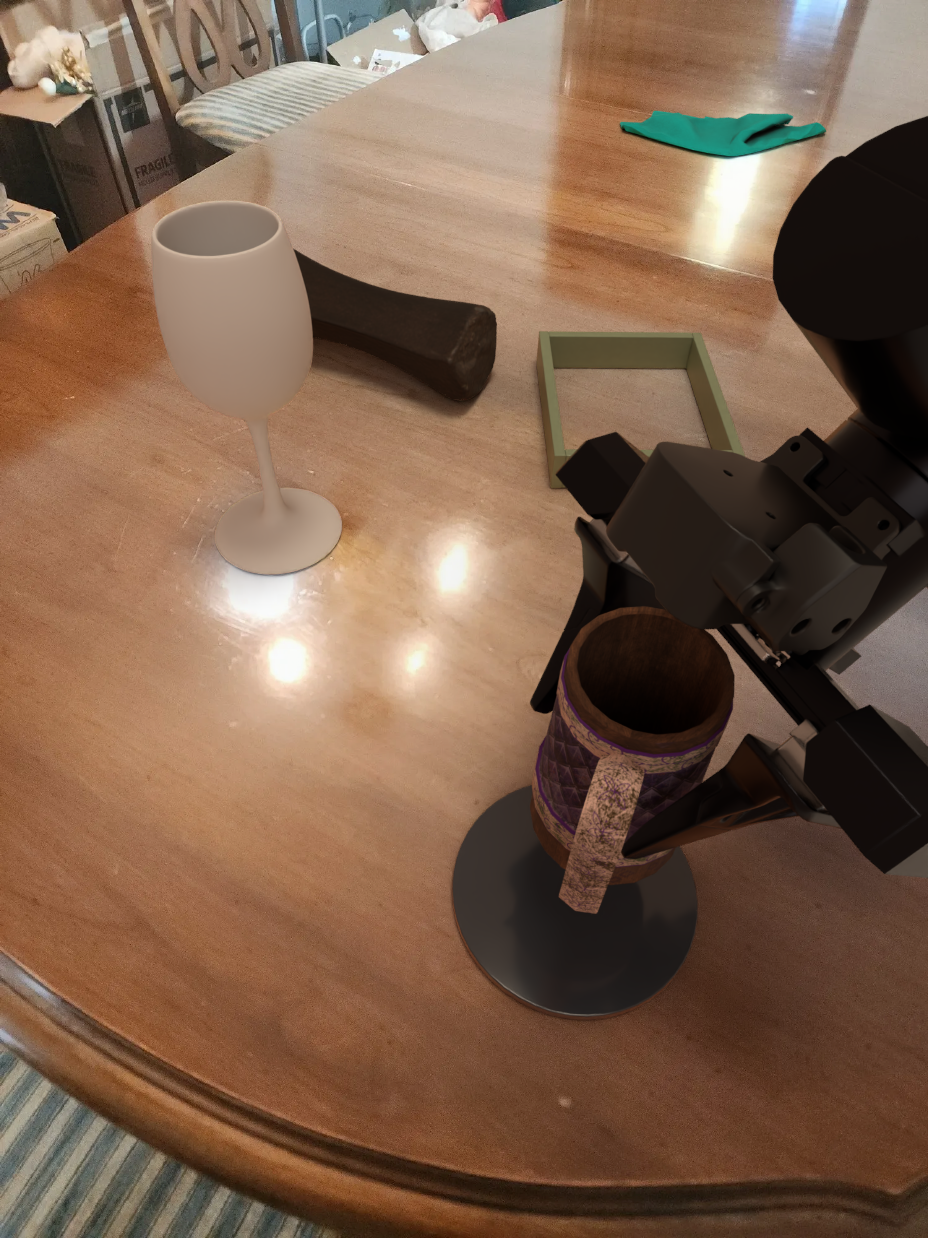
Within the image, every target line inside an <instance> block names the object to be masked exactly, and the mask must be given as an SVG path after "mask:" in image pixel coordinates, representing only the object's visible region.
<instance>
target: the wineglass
mask: <svg viewBox="0 0 928 1238" xmlns="http://www.w3.org/2000/svg"><path fill="white" fill-rule="evenodd" d="M293 248H294V246H293V244H292V241H291V239H290V237H289V233H288V231H287V229H286V226H285V224H284V222H283V220H282V219H281V217H280V216H279V214H277V213H276V212H275V211H274V210H272V209H271V208H269V207H267V206H264V205H261V204H259V203H255V202H250V201H244V200H234V199H228V200H227V199H219V200H218V199H217V200H208V201H203V202H196V203H193V204H188V205H186V206H182V207H180V208H177V209H175V210H173V211H171V212H169V213H167V214H166V215H164V216H163V217H161V218H160V219H159V220H158V221H157V222H156V223H155V225H154V226H153V229H152V231H151V236H150V253H151V254H150V255H151V275H152V276H151V277H152V289H153V297H154V305H155V311H156V316H157V322H158V326H159V330H160V333H161V337H162V340H163V345H164V347H165V350H166V353H167V356H168V358H169V361H170V363H171V367H172V368H173V371H174V372H175V375H176V376H177V378H178V379H179V381H180V383H181V385H183V387H184V388H185V389H186V391H187V392H188V393H189V394H190V395H191V396H192V397H193V398H195V400H196V401H198V402H199V403H200V404H202V405H204V406H205V407H207V408H208V409H210V410H212V411H213V412H215V413H218V414H220V415H222V416H225V417H229V418H233V419H237V420H243V421H244V422H245V424H246V426H247V429H248V431H249V435H250V437H251V440H252V444H253V447H254V451H255V456H256V461H257V465H258V472H259V476H260V482H261V490H260V491H257V492H254V493H251V494H248V495H247V496H244V497H242V498H241V499H239V500H238V501H236V502H235V503H233V504H232V505H230V507H228V509H226V511H224V513H223V514H222V515H221V516H220V519H219V520H218V522H217V524H216V527H215V531H214V542H215V546H216V548H217V550H218V552H219V554H220V555H221V556H222V558H224V560H226V561H227V562H228V563H230V564H231V565H232V566H233V567H236V568H238V569H240V570H242V571H244V572H248V573H253V574H259V575H269V576H270V575H284V574H290V573H294V572H298V571H301V570H304V569H306V568H309V567H311V566H313V565H315V564H316V563H318V562H320V561H321V560H322V559H324V558H325V557H327V556H328V555H329V554H330V553H331V552H332V551H333V549H334V548H335V546H337V544H338V542H339V540H340V537H341V536H342V531H343V522H342V517H341V513H340V512H339V510H338V508H337V507H336V506H335V505H334V504H333V502H331V500H329V499H327V498H325V497H324V496H323V495H321V494H319V493H316V492H314V491H311V490H308V489H304V488H299V487H298V488H297V487H280V485H279V482H278V478H277V474H276V470H275V464H274V461H273V455H272V449H271V443H270V436H269V418H270V416H271V415H273V414H275V413H278V412H280V411H281V410H283V409H284V408H285V407H286V406H288V405H289V404H290V403H291V402H292V401H293V400H294V398H295V397H296V396H297V395H298V394H299V393H300V392H301V390H302V388H303V386H304V385H305V383H306V381H307V379H308V377H309V375H310V370H311V367H312V362H313V356H314V338H313V333H312V322H311V314H310V308H309V302H308V297H307V293H306V288H305V285H304V281H303V277H302V274H301V270H300V267H299V264H298V261H297V258H296V255H295V252H294V250H293Z"/></svg>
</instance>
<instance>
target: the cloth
mask: <svg viewBox="0 0 928 1238" xmlns="http://www.w3.org/2000/svg"><path fill="white" fill-rule="evenodd" d="M793 119H794V115H793V114H789V113H755V112H754V113H750V112H749V113H747V114H744V115H742V116H740V117H738V118H735V117H730V116H729V117H728V116H727V117H713V116H712V117H711V116H707V115H706V116H704V117H697V116H692V115H688V114H682V113H680V112H669V111H662V110H653V111H652V113H651V116H650V117H648V118H646V119H645V120H643V121H641V122H637V121H620V122H619V126H620V129H622V130H623V129H624V131H626V132H628V133H631V134H632V133H633V134H635V135H639V136H642V137H645V138H648V139H651V140H655V141H658V142H661V143H665V144H669V145H672V146H677V147H681V148H685V149H687V150H692V151H696V152H700V153H701V152H702V153H707V154H710V155H718V156H725V157H726V156H727V157H737V156H743V155H749V154H754V153H757V152H758V153H759V152H761V151H765V150H769V149H771V148H776V147H779V146H782V145H784V144H788V143H792V142H795V141H799V140H804V139H807V138H811V137H815V136H817V135H821V134H825V133H827V129H826V127H825V126H824V125H823V124H822V123H820V122H817V121H816V122H812V123H807V124H804V125H800V126H795V125H789V124H790V123H791V121H792V120H793Z"/></svg>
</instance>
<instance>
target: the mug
mask: <svg viewBox="0 0 928 1238" xmlns="http://www.w3.org/2000/svg"><path fill="white" fill-rule="evenodd" d="M735 676H736V675H735V672H734V669H733V667H732V664H731V661H730V659H729V655H728V653H727V651H725V650H724V648H723V647H722V646H721V644H720V643H719V642H718V640H717V639H716V637H715V636H714V635H713V634H712V633H710V632H709V631H707V629H697V628H694V627H691V626H689V625H687V624H684V623H683V622H681V621H679V620H678V619H676V618H675V617H673V616H672V615H671V614H670V613H669V612H668V611H667V610H663V609H658V608H652V607H646V606H641V607H626V608H619V609H616V610H613V611H610V612H607V613H604V614H601V615H599V616H597V617H596V618H595V619H593V620H592V621H591V622H589V623H588V624H587V625H585V626H584V627H583V628H581V630H580V632H579V633H578V635H577V636H576V638H575V639H574V641H573V643H572V644H571V646H570V648H569V650H568V652H567V653H566V655H565V657H564V660H563V664H562V668H561V671H560V677H559V682H558V688H557V696H556V700H555V704H554V707H553V711H552V712H551V716H550V720H549V724H548V728H547V731H546V735H545V736H544V738H543V739H542V741H541V743H540V744H539V747H538V750H537V755H536V760H535V763H534V769H533V774H532V780H531V785H532V791H533V793H532V798H531V803H530V811H531V817H532V823H533V829H534V831H535V833H536V835H537V837H538V839H539V841H540V843H541V844H542V846H543V848H544V850H545V851H546V852H547V853H548V854H549V855H550V856H551V857H552V858H553V859H554V860H555V861H556V862H557V863H558V864H559V865H560V866H561V867H562V868H564V869H565V870H566V871H565V875H564V878H563V882H562V886H561V890H560V893H559V898H561V899H562V900H563V901H564V902H565V903H566V904H568V905H569V906H570V907H571V908H572V909H574V910H575V911H580V912H587V913H594V914H596V913H597V912H598V909H599V907H600V904H601V902H602V899H603V896H604V894H605V891H606V889H607V886H608V885H617V884H627V883H635V882H637V881H639V880H641V879H644V878H646V877H648V876H650V875H653V874H655V873H656V872H657V871H658V870H659V869H660V868H661V867H662V866H663V865H664V864H665V863H666V862H667V861H668V860H669V859H670V858H671V857H672V855H673V853H674V851H675V848H672V849H669V850H666V851H662V852H659V853H656V854H652V855H649V856H646V857H643V858H639V859H626V858H624V857H623V856H622V854H621V850H622V847H623V844H624V843H625V842H626V841H627V840H628V839H629V838H630V837H631V836H632V835H633V834H634V833H635V832H636V831H637V830H638V829H639V828H640V827H641V826H642V825H643V824H645V823H646V822H647V821H649V820H650V819H652V818H653V817H654V816H656V815H657V814H659V813H660V812H661V811H663V810H664V809H666V808H667V807H668V806H670V805H671V804H673V803H674V802H675V801H677V800H678V799H680V798H681V797H682V796H684V795H685V794H687V793H688V792H689V791H691V790H692V789H694V788H695V787H696V786H698V785H699V784H701V783H702V782H703V781H704V779H705V777H706V774H707V772H708V768H709V766H710V763H711V761H712V758H713V756H714V753H715V751H716V748H717V747H718V746H719V744H720V743H721V742H720V741H721V740H722V737H723V735H724V733H725V731H726V728H727V726H728V724H729V720H730V718H731V716H732V713H733V710H734V698H735V680H736V679H735Z"/></svg>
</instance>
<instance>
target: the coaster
mask: <svg viewBox="0 0 928 1238" xmlns="http://www.w3.org/2000/svg"><path fill="white" fill-rule="evenodd" d="M532 793H533V791H532V784H529V785H526V786H523V787H520V788H518V789H515V790H513V791H511V792H509V793H507V794H505V795H504V796H502V797H501V798H499V799H498V800H496V801H494V802H493V803H492V804H491V805H490V806H489V807H487V808H486V809H485V810H484V811H483V812H482V813H481V814H480V815H479V816H478V817H477V819H476V820H475V821H474V822H473V824H472V825H471V826H470V827H469V829H468V831H467V832H466V834H465V836H464V838H463V840H462V842H461V844H460V846H459V849H458V852H457V855H456V858H455V860H454V861H455V862H454V866H453V871H452V883H451V896H452V909H453V914H454V919H455V924H456V926H457V929H458V932H459V935H460V938H461V940H462V942H463V944H464V946H465V948H466V950H467V952H468V954H469V955H470V957H471V958H472V960H473V961H474V963H475V964H476V965H477V967H478V968H479V969H480V971H481V972H482V973H483V974H484V975H485V976H486V978H487V979H488V980H489V981H490V982H491V983H493V984H494V985H495V986H496V987H497V988H498V989H499V990H501V991H502V992H503V993H504V994H506V995H507V996H509V997H510V998H512V999H513V1000H515V1001H516V1002H518V1003H520V1004H522V1005H523V1006H526V1007H528V1008H530V1009H532V1010H534V1011H536V1012H539V1013H543V1014H546V1015H548V1016H552V1017H557V1018H562V1019H567V1020H578V1021H579V1020H580V1021H592V1020H604V1019H608V1018H612V1017H617V1016H622V1015H623V1014H627V1013H630V1012H631V1011H634V1010H637V1009H638V1008H640V1007H642V1006H643V1005H645V1004H647V1003H650V1001H651V1000H653V999H655V998H656V997H657V996H658V995H659V994H661V993H662V992H663V991H664V990H665V989H666V988H667V987H668V985H670V983H671V982H672V981H673V980H674V979H675V977H676V976H677V975H678V973H679V971H680V970H681V969H682V967H683V966H684V963H686V960H687V958H688V955H689V953H690V951H691V949H692V947H693V943H694V941H695V940H694V939H695V936H696V931H697V926H698V920H699V919H698V918H699V915H698V914H699V902H698V893H697V892H698V891H697V886H696V882H695V879H694V875H693V871H692V868H691V866H690V864H689V861H688V859H687V856H686V855H685V853H684V851H683V850H682V848H681V846H679V847H676V848H675V851H674V853H673V855H672V857H671V858H670V859H669V860H668V861H667V862H666V863H665V864H664V865H663V866H662V867H661V868H660V869H659V870H658V871H657V872H656V873H655V874H653V875H650V876H648V877H646V878H644V879H641V880H639V881H637V882H635V883H627V884H617V885H608V886H607V889H606V891H605V894H604V896H603V899H602V902H601V904H600V907H599V909H598V912H597V913H596V914H594V913H587V912H580V911H575V910H574V909H572V908H571V907H570V906H569V905H568V904H566V903H565V902H564V901H563V900H562V899H561V898H559V893H560V890H561V886H562V882H563V878H564V875H565V871H566V870H565V869H564V868H562V867H561V866H560V865H559V864H558V863H557V862H556V861H555V860H554V859H553V858H552V857H551V856H550V855H549V854H548V853H547V852H546V851H545V850H544V848H543V846H542V844H541V843H540V841H539V839H538V837H537V835H536V833H535V831H534V829H533V823H532V817H531V811H530V803H531V798H532Z"/></svg>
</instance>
